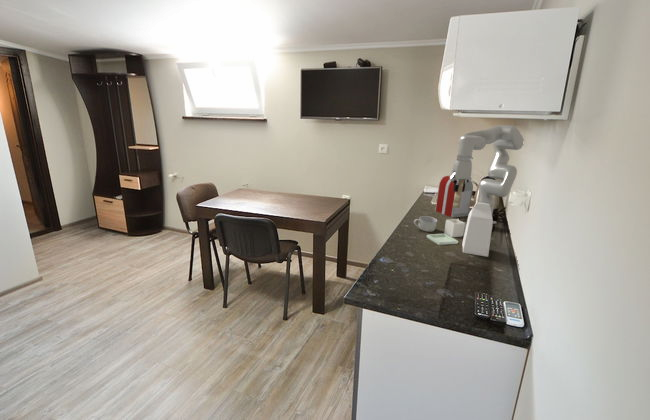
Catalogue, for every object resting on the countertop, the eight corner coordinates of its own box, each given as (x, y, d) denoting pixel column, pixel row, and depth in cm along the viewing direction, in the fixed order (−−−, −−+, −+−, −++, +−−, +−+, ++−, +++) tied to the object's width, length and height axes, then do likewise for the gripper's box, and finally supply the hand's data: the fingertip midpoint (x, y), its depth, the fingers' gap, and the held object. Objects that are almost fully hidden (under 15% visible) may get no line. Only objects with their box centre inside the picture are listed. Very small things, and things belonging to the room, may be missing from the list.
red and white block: (451, 209, 251) (456, 174, 243) (469, 215, 236) (475, 179, 228) (434, 210, 244) (439, 175, 237) (451, 217, 229) (457, 180, 221)
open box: (454, 233, 198) (456, 219, 195) (462, 237, 191) (465, 223, 188) (443, 233, 195) (446, 219, 193) (451, 238, 188) (454, 223, 186)
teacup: (433, 228, 204) (435, 216, 202) (437, 234, 194) (439, 221, 192) (411, 227, 205) (412, 215, 203) (413, 232, 195) (415, 220, 193)
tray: (444, 237, 190) (444, 233, 190) (457, 244, 179) (458, 241, 179) (426, 238, 187) (426, 234, 186) (438, 246, 176) (439, 242, 175)
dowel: (456, 206, 188) (461, 179, 184) (460, 207, 185) (465, 180, 181) (451, 206, 187) (455, 179, 183) (455, 208, 184) (460, 180, 180)
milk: (462, 252, 169) (471, 204, 162) (461, 244, 179) (469, 199, 172) (488, 256, 165) (497, 207, 158) (485, 248, 175) (494, 202, 168)
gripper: (471, 158, 184) (466, 189, 189) (447, 157, 180) (442, 190, 185) (481, 160, 177) (475, 192, 182) (455, 159, 173) (450, 193, 178)
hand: (458, 191), depth 184 cm, fingers closed on dowel, 3 cm apart
